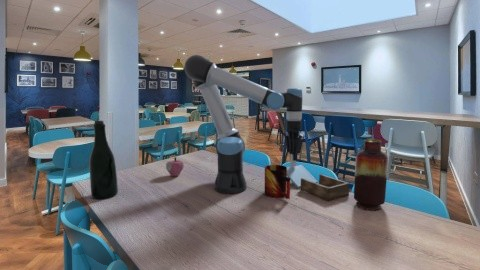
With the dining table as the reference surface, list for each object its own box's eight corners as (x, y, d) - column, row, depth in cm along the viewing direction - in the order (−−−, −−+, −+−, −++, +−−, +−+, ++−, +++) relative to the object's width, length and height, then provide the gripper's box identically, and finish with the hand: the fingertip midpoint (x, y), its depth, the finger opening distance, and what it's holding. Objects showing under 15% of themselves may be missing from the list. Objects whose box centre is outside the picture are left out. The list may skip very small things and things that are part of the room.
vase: (347, 203, 108) (350, 139, 104) (367, 199, 112) (371, 137, 108) (369, 214, 98) (374, 143, 94) (391, 209, 102) (396, 141, 98)
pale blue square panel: (281, 169, 134) (282, 168, 133) (300, 166, 140) (301, 164, 140) (297, 188, 125) (298, 186, 124) (317, 183, 132) (318, 181, 131)
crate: (300, 190, 123) (300, 178, 122) (320, 185, 130) (320, 174, 129) (328, 201, 110) (328, 188, 109) (348, 195, 116) (349, 183, 116)
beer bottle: (122, 195, 118) (116, 120, 113) (96, 201, 111) (89, 122, 106) (112, 189, 125) (107, 119, 120) (87, 195, 118) (81, 120, 113)
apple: (164, 175, 147) (163, 157, 145) (178, 172, 153) (177, 155, 151) (172, 179, 140) (171, 160, 138) (187, 176, 146) (186, 158, 144)
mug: (288, 202, 110) (289, 173, 108) (260, 194, 118) (260, 168, 116) (298, 195, 117) (299, 168, 115) (271, 188, 125) (271, 163, 124)
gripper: (309, 120, 129) (307, 168, 132) (290, 118, 140) (290, 162, 143) (297, 121, 125) (296, 170, 129) (279, 119, 136) (279, 164, 140)
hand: (293, 166), depth 136 cm, fingers closed
